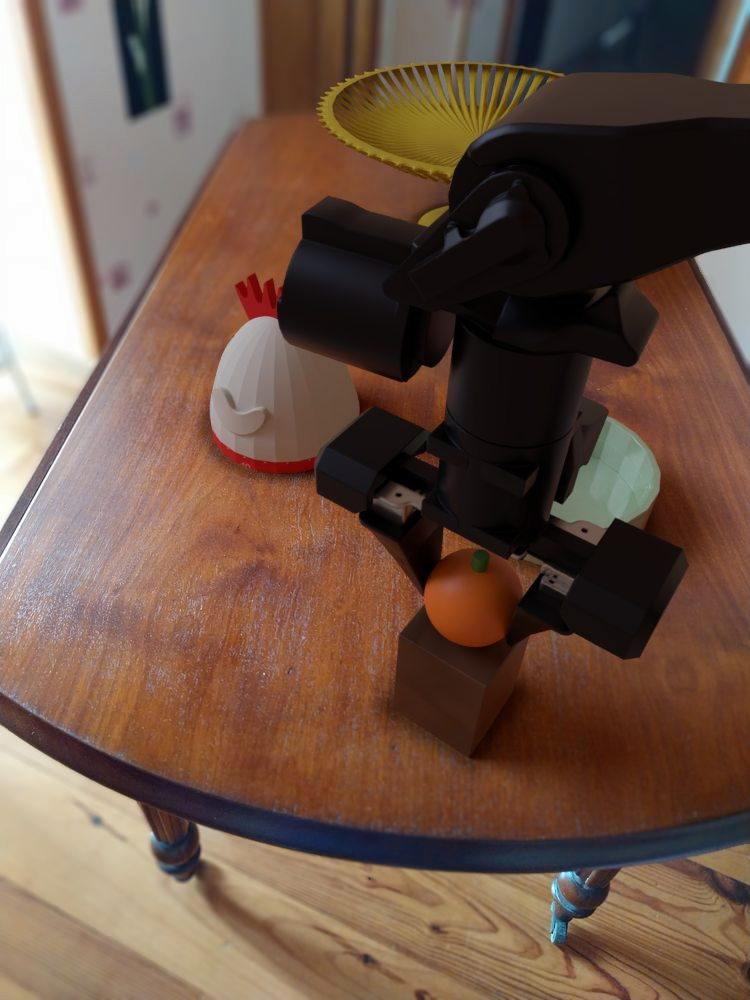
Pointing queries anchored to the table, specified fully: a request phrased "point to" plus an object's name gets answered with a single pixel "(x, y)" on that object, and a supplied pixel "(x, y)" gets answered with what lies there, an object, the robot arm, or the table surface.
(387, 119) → the yellow pedestal fruit stand
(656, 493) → the bowl
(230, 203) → the table surface
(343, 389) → the white chicken figurine
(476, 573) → the toy orange fruit
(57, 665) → the table surface
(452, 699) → the block
